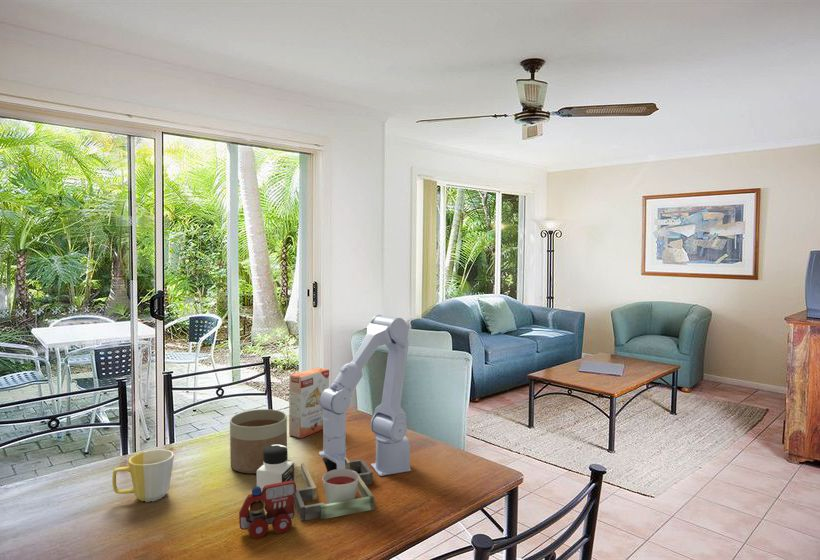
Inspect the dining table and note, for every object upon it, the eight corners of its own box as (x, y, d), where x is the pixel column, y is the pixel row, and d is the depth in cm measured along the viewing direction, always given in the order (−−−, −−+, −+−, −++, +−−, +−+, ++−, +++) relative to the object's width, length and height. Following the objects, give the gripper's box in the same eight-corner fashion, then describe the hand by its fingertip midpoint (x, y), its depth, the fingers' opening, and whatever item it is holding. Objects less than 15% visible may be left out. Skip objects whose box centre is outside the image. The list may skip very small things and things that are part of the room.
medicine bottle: (282, 500, 131) (282, 453, 131) (256, 497, 133) (255, 451, 132) (294, 487, 138) (294, 443, 138) (269, 484, 140) (269, 441, 139)
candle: (359, 508, 128) (360, 483, 127) (322, 511, 126) (322, 485, 126) (357, 491, 136) (357, 467, 136) (322, 493, 135) (322, 469, 134)
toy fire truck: (238, 526, 119) (237, 482, 118) (293, 516, 124) (292, 473, 123) (240, 542, 113) (240, 495, 112) (298, 531, 117) (298, 486, 117)
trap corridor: (359, 465, 153) (359, 455, 153) (389, 506, 129) (389, 494, 129) (284, 476, 145) (284, 466, 144) (301, 523, 121) (301, 510, 120)
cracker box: (301, 439, 172) (301, 377, 171) (288, 435, 176) (288, 374, 174) (330, 427, 184) (330, 368, 183) (317, 424, 187) (317, 366, 186)
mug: (178, 485, 139) (177, 447, 138) (170, 504, 129) (169, 462, 128) (121, 491, 135) (120, 451, 135) (108, 510, 126) (107, 468, 125)
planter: (266, 479, 143) (266, 429, 142) (218, 470, 148) (217, 423, 147) (297, 457, 158) (297, 412, 157) (252, 450, 163) (252, 406, 162)
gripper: (313, 427, 141) (313, 476, 142) (325, 446, 128) (325, 500, 129) (339, 424, 144) (339, 472, 145) (353, 442, 131) (353, 495, 132)
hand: (334, 485), depth 137 cm, fingers closed
